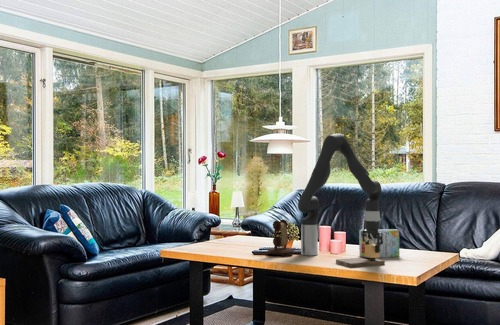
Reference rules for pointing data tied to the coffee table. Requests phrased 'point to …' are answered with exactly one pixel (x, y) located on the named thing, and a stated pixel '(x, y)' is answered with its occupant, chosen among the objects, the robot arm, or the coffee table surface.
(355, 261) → the board
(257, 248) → the coffee table surface
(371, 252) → the tan wooden block
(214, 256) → the coffee table surface
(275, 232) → the brown upright piece
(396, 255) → the snack box
